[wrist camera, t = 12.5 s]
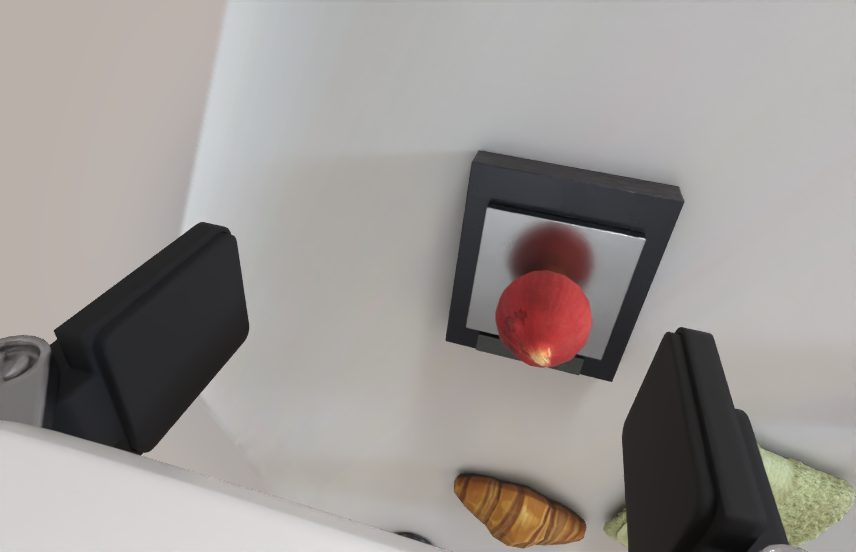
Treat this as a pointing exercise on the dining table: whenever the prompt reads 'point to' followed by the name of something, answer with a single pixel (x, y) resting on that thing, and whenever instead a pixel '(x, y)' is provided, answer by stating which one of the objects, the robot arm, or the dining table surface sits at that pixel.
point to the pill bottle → (414, 537)
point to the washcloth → (788, 500)
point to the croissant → (518, 512)
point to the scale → (572, 199)
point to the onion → (543, 318)
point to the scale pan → (554, 265)
